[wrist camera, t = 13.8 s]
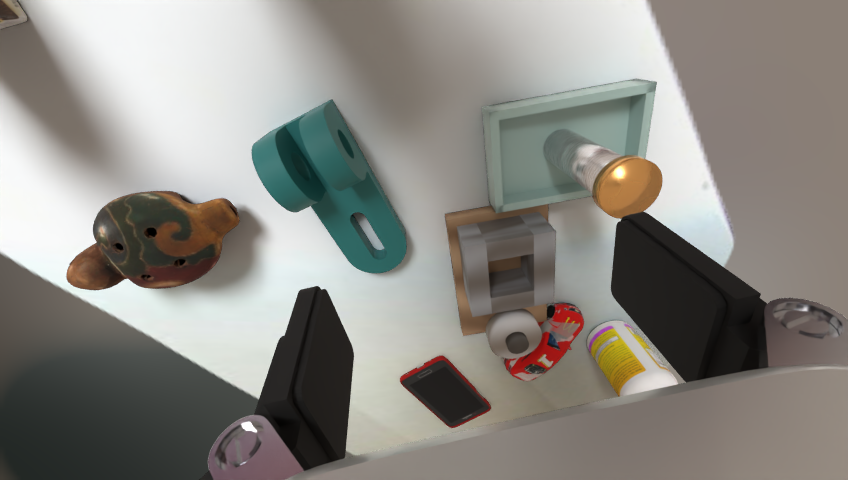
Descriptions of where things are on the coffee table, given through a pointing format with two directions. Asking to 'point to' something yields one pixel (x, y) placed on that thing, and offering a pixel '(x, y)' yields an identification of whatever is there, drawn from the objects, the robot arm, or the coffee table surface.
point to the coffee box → (11, 13)
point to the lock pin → (605, 173)
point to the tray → (540, 116)
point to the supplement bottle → (627, 359)
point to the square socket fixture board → (503, 274)
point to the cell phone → (445, 392)
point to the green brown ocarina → (153, 241)
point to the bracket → (331, 185)
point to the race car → (549, 342)
